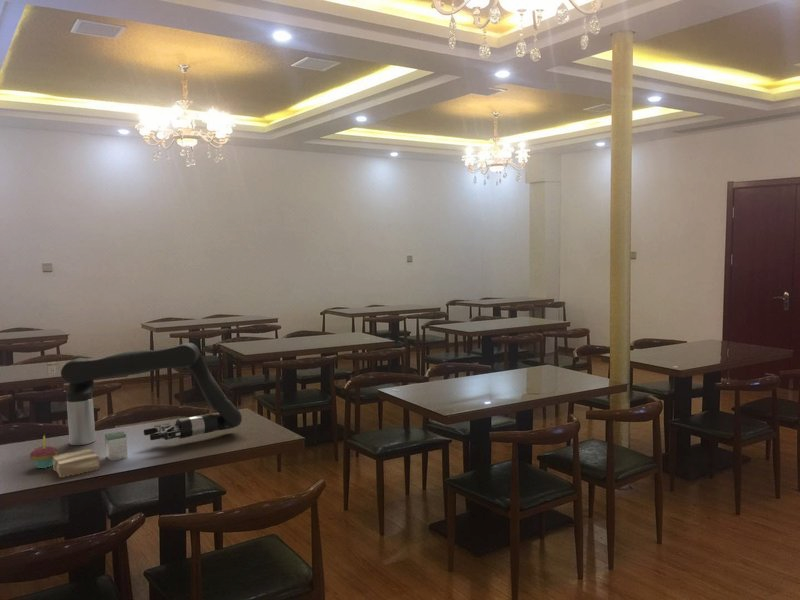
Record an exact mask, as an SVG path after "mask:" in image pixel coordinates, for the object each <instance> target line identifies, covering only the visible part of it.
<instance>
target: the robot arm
mask: <svg viewBox="0 0 800 600" xmlns="http://www.w3.org/2000/svg"><path fill="white" fill-rule="evenodd" d="M171 368H172V369H173V368H176V369H177V368H178V369H179V368H187V369H188V370H189V371H190V372H191V373H192V375H193V377H194V378H195V380H196V382H197V384H198V386H199V390H200V392H201V394H202V395H203V397H204V399H205V400H206V401H207V403H208V404H209V406H210V407H211V408H212V410H213V411H216V412H217V413H215V414H213V413H210V414H205V415H195V416H190V417H183V418H182V417H181V418H178V419H177V420H176V421H175V423H174V424H171V423H170V422H168V423H163V424H157V425H154V426H153V427H151V428H145V429H144V430H143V435H144V436H149V440H150V441H155V440H156V441H157V440H165V441H167V440H171V439H176V438H177V439H179V440H182V439H186V438H191V437H192V438H193V437H197V436H200V435H203V434H209V433H213V432H217V431H225V430H231V429H234V428H236V427H239V426H240V425H241V424H242V420H243V417H242V414H241V411H240V410H239V409H238V408H237V406H236V405H234V404H233V402H232V401H231V400H229V399H228V397H227V395H226V394H225V392H224V391H223V390H222V388H221V387H220V384H218V383H217V381H216V379H215V377H213V376H214V375H212V373H211V371H210V370H209V368H208V366H207V364H206V362H205V361H204V358H203V356H202V354H201V352H200V349H199V347H198V346H197V345H196V344H195V343H192V342H183V343H181V344H179V345H177V346H174V347H170V348H165V349H159V350H151V349H149V350H148V349H145V350H143V349H142V350H132V351H124V352H121V353H116V354H113V355H109V356H105V357H103V358H99V359H98V358H97V359H92V360H91V359H90V360H88V359H87V358H84V357H77V358H75V359H72V360H70V361H68V362H66V363H65V364H64V365H63V367H62V368H61V369H60V376H61V378H62V380H64V381H65V382H66V383H68V391H67V393H66V395H65V396H66V398H65V399H66V407H67V408H66V410H67V412H66V413H67V424H68V425H67V426H68V439H69V442H68V443H69V445H71V446H82V445H89V444H91V443H94V442H96V429H95V427H96V425H95V412H94V398H93V393H94V390H95V389H94V388H95V387H94V385H95V383H94V382H95V381H94V380H97V379H102V378H104V379H105V378H115V377H118V378H119V377H124V376H125V377H126V376H132V375H139V374H145V373H150V372H153V371H157V370H161V369H171Z"/></svg>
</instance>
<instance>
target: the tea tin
mask: <svg viewBox="0 0 800 600" xmlns="http://www.w3.org/2000/svg"><path fill="white" fill-rule="evenodd" d="M104 441H105V445H104V446H105V457H106V459H109V460H113V461H116V460H115V459H118V460H122V459H121V458H123V459H127V457H128V442H127V434H126V433H125V432H124V431H122V430H121V431H115V432H110V433H105V434H104ZM128 458H129V457H128Z"/></svg>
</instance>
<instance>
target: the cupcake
mask: <svg viewBox="0 0 800 600" xmlns="http://www.w3.org/2000/svg"><path fill="white" fill-rule="evenodd" d="M42 440H43V441H42V446H38V447H36V448H34V449H33V450H32V451H31V452H30V453H29V458H30V460H31V461H34V463H35V465H36V468H37V469H38V468H45V469H48V468H47V467H49V468H51V467H53V466H52V465H53V458H52V456H55V455H59V454H58V450H57V448H56V447H54V446H49V445H48V446H47V445H46V435H45V434H43V436H42ZM50 466H51V467H50Z"/></svg>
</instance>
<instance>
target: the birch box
mask: <svg viewBox="0 0 800 600" xmlns="http://www.w3.org/2000/svg"><path fill="white" fill-rule="evenodd" d="M52 458H53V466H52V467H53V468H52V469H53V470H54V472H55V471H56V472H57V473H58V474H59V475H58V474H57V473H56V472H55V473H56V474H57V475H58V476H59V478H61V477H63V478H66V477H65V476H67V477H71V476H70V475H72V476H75V474H76V475H80V473H81V474H85V473H84V472H86V473H89V472H88V471H90V472H93V470H95V471H97V470H96V469H99V470H100V459H99V458H100V457H99V455H98V454H97V453H95V452H94V451H93V449H91V448H86V449H80V450H75V451H70V452H66V453H65V452H64V453H61V454H57V455H55V456H52Z"/></svg>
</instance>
